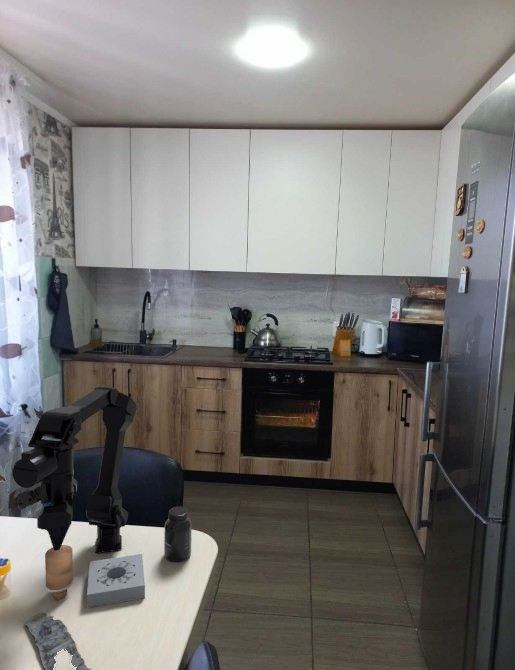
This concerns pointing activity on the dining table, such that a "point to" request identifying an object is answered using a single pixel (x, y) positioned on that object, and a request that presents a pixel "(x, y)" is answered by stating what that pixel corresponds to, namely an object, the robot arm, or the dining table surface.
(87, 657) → the dining table surface
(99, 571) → the board
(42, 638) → the driftwood
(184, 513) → the supplement bottle
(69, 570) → the peg
